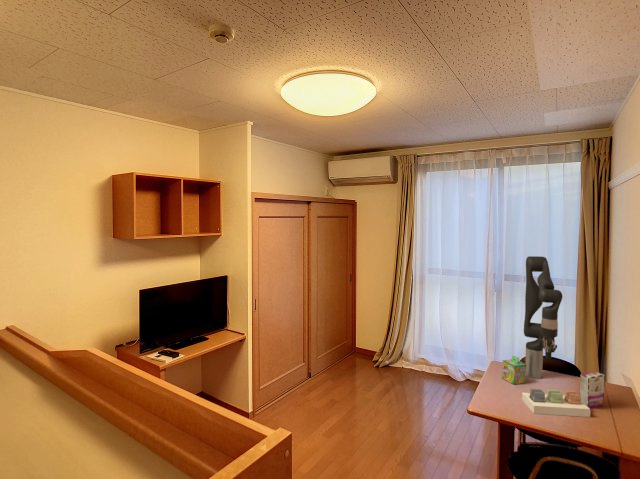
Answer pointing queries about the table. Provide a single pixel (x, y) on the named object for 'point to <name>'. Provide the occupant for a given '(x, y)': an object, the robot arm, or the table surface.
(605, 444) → the table surface
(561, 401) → the sage block
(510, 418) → the table surface
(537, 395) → the slate block
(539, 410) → the board
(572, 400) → the terracotta block
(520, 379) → the chalk box
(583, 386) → the candy bar box
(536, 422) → the table surface
